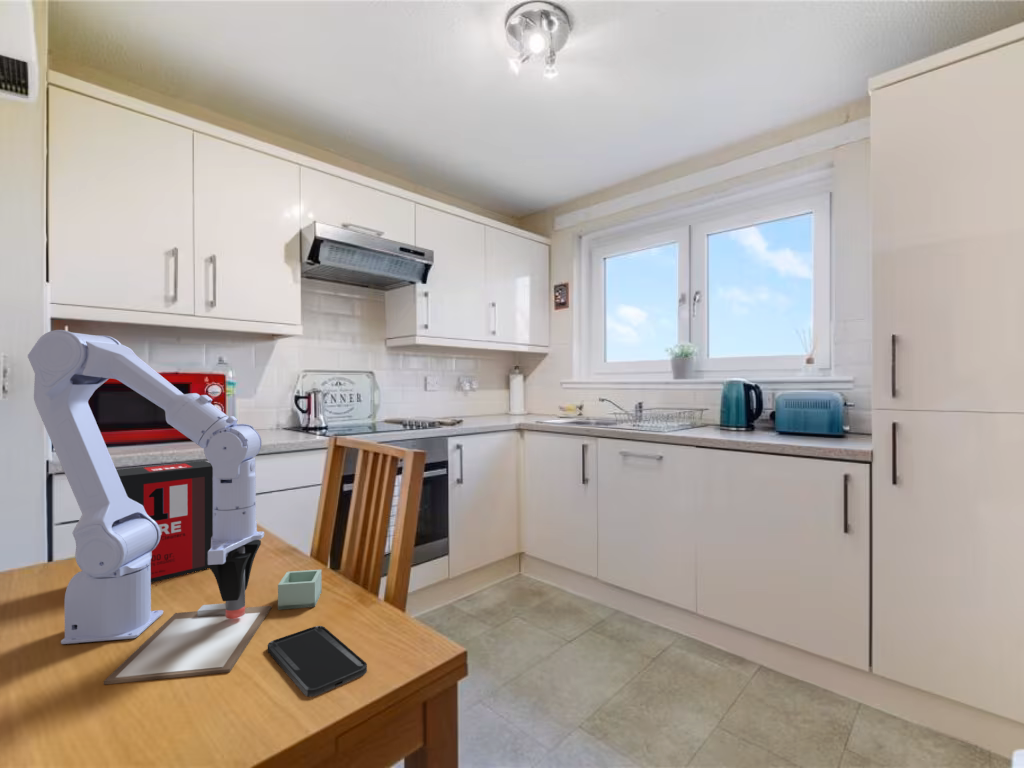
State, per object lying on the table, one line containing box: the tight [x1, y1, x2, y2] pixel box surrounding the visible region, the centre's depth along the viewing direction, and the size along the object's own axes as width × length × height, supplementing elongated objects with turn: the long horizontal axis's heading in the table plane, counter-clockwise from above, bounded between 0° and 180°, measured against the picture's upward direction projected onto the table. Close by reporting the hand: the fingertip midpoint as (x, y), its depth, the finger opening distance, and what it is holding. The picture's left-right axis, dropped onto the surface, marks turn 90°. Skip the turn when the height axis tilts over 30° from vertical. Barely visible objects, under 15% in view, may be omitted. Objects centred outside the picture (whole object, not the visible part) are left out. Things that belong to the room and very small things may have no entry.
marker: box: [225, 546, 246, 619], centre depth 75 cm, size 3×3×10 cm
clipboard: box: [103, 602, 272, 685], centre depth 70 cm, size 14×18×1 cm
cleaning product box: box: [112, 460, 213, 584], centre depth 95 cm, size 16×9×20 cm, turn 136°
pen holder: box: [277, 568, 323, 610], centre depth 83 cm, size 6×6×4 cm
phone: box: [267, 625, 368, 698], centre depth 66 cm, size 8×1×15 cm
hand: (234, 595), depth 75 cm, fingers closed on marker, 3 cm apart
